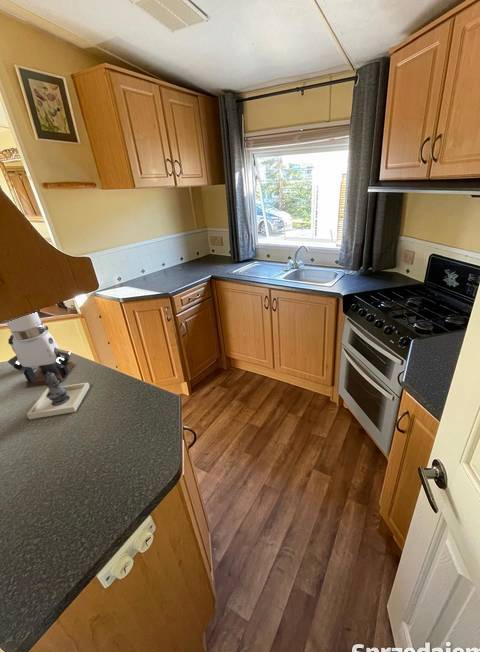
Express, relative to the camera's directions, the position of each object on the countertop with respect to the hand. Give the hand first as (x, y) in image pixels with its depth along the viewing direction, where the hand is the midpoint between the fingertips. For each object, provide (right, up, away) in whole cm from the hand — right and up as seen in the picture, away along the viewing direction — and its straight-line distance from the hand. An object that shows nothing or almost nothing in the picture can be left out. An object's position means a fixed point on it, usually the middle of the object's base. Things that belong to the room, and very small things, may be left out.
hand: (49, 378), depth 95 cm
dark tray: (-14, -2, +19) cm, 24 cm away
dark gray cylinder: (-14, -2, +19) cm, 24 cm away
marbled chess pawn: (+1, -9, +4) cm, 10 cm away
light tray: (+1, -9, +4) cm, 10 cm away
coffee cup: (-27, +1, +27) cm, 38 cm away
